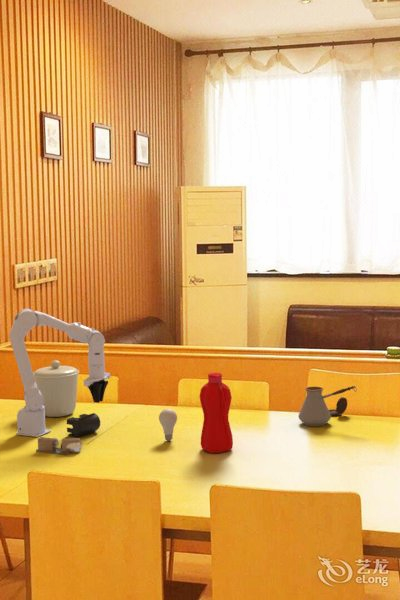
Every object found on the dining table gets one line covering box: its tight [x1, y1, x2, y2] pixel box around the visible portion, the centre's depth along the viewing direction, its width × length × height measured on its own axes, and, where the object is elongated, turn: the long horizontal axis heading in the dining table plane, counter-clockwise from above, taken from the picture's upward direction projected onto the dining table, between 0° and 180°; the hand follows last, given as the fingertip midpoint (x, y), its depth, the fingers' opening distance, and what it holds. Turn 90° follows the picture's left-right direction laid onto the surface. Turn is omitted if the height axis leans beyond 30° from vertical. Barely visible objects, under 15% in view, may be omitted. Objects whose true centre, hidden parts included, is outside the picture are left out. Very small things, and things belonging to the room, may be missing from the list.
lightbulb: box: [158, 408, 178, 442], centre depth 269 cm, size 6×6×11 cm
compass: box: [328, 396, 348, 417], centre depth 296 cm, size 8×8×7 cm
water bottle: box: [199, 372, 234, 454], centre depth 256 cm, size 9×11×25 cm
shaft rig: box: [35, 436, 83, 456], centre depth 261 cm, size 14×6×4 cm, turn 64°
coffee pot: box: [297, 385, 358, 427], centre depth 283 cm, size 21×12×15 cm, turn 59°
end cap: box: [66, 412, 101, 438], centre depth 280 cm, size 10×7×7 cm
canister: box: [33, 359, 80, 418], centre depth 309 cm, size 18×18×21 cm
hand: (98, 401), depth 288 cm, fingers closed
